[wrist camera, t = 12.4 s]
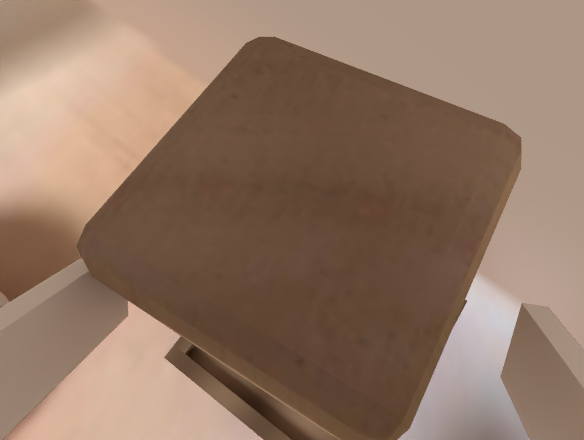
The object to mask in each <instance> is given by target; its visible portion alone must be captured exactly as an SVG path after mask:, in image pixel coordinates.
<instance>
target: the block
mask: <svg viewBox="0 0 584 440" xmlns="http://www.w3.org/2000/svg"><path fill="white" fill-rule="evenodd" d="M520 170H521V137H520V136H518V135H517V134H516V133H515V132H513V131H512V130H511V129H510V128H509V127H508V126H506V125H505V124H503V123H500V122H498V121H495V120H492V119H489V118H487V117H484V116H482V115H479V114H476V113H474V112H471V111H469V110H466V109H463V108H461V107H458V106H455V105H453V104H450V103H448V102H445V101H442V100H440V99H437V98H434V97H432V96H429V95H426V94H424V93H421V92H418V91H416V90H413V89H411V88H408V87H405V86H403V85H400V84H397V83H395V82H392V81H390V80H387V79H384V78H382V77H379V76H376V75H373V74H371V73H368V72H365V71H363V70H361V69H358V68H355V67H352V66H350V65H347V64H344V63H342V62H339V61H337V60H334V59H332V58H329V57H326V56H324V55H321V54H318V53H316V52H313V51H310V50H308V49H305V48H303V47H300V46H297V45H295V44H292V43H289V42H287V41H284V40H281V39H279V38H276V37H258V38H256V39H254V40H252V41H250V42H248V43H246V44H245V45H244V46H243V47H242V49H241V50H240V51H239V52H238V53H237V54H236V55H235V57H234V58H233V59H232V60H231V61H230V62H229V63H228V65H227V66H226V67H225V68H224V69H223V70H222V71H221V72H220V74H219V75H218V76H217V77H216V78H215V79H214V80H213V81H212V83H211V84H210V85H209V86H208V87H207V88H206V89H205V90H204V92H203V93H202V94H201V95H200V96H199V97H198V98H197V100H196V101H195V102H194V103H193V104H192V105H191V106H190V107H189V109H188V110H187V111H186V112H185V113H184V114H183V115H182V117H181V118H180V119H179V120H178V121H177V122H176V123H175V124H174V126H173V127H172V128H171V129H170V130H169V131H168V132H167V134H166V135H165V136H164V137H163V138H162V139H161V140H160V141H159V143H158V144H157V145H156V146H155V147H154V148H153V149H152V151H151V152H150V153H149V154H148V155H147V156H146V157H145V159H144V160H143V161H142V162H141V163H140V164H139V165H138V166H137V168H136V169H135V170H134V171H133V172H132V173H131V174H130V176H129V177H128V178H127V179H126V180H125V181H124V182H123V183H122V185H121V186H120V187H119V188H118V189H117V190H116V191H115V193H114V194H113V195H112V196H111V197H110V198H109V199H108V200H107V202H106V203H105V204H104V205H103V206H102V207H101V208H100V210H99V211H98V212H97V213H96V214H95V215H94V216H93V217H92V219H91V220H90V221H89V222H88V223H87V224H86V225H85V228H84V230H83V233H82V235H81V237H80V240H79V242H78V244H77V248H78V250H79V253H80V255H81V257H82V259H83V261H84V263H85V264H86V266H87V268H88V270H89V272H90V274H91V276H92V277H94V278H95V279H97V280H98V281H100V282H101V283H103V284H104V285H106V286H107V287H109V288H110V289H112V290H113V291H115V292H116V293H118V294H119V295H121V296H122V297H124V298H125V299H127V300H128V301H130V302H131V303H133V304H134V305H136V306H137V307H139V308H140V309H142V310H143V311H145V312H146V313H148V314H149V315H151V316H152V317H154V318H155V319H157V320H158V321H160V322H161V323H163V324H164V325H166V326H167V327H169V328H170V329H172V330H173V331H174V332H176V333H177V334H179V335H180V336H182V337H183V338H185V339H186V340H188V341H189V342H191V343H192V344H194V345H195V346H197V347H198V348H200V349H201V350H203V351H204V352H206V353H207V354H209V355H210V356H212V357H213V358H215V359H216V360H218V361H219V362H221V363H222V364H224V365H225V366H227V367H228V368H230V369H231V370H233V371H234V372H236V373H237V374H239V375H240V376H242V377H243V378H245V379H247V380H248V381H250V382H251V383H253V384H254V385H256V386H257V387H259V388H260V389H262V390H263V391H265V392H266V393H268V394H269V395H271V396H272V397H274V398H275V399H277V400H278V401H280V402H282V403H283V404H285V405H286V406H288V407H289V408H291V409H292V410H294V411H295V412H297V413H298V414H300V415H301V416H303V417H304V418H306V419H307V420H309V421H310V422H312V423H313V424H315V425H316V426H318V427H320V428H321V429H323V430H324V431H326V432H327V433H329V434H330V435H332V436H334V437H336V438H338V439H339V440H397V439H398V438H399V437H400V436H401V435H403V434H404V433H405V432H406V431H407V430H408V429H409V428H410V426H411V424H412V421H413V419H414V417H415V414H416V412H417V410H418V407H419V405H420V403H421V400H422V398H423V396H424V393H425V391H426V389H427V386H428V384H429V382H430V379H431V377H432V375H433V372H434V370H435V368H436V365H437V363H438V361H439V358H440V356H441V354H442V351H443V349H444V347H445V344H446V342H447V340H448V337H449V335H450V333H451V330H452V328H453V326H454V323H455V321H456V319H457V316H458V314H459V312H460V309H461V307H462V305H463V303H464V300H465V298H466V296H467V293H468V291H469V289H470V286H471V284H472V282H473V279H474V277H475V275H476V272H477V270H478V268H479V265H480V263H481V261H482V258H483V256H484V254H485V251H486V249H487V246H488V244H489V242H490V240H491V237H492V235H493V233H494V230H495V228H496V226H497V223H498V221H499V218H500V216H501V214H502V212H503V209H504V207H505V205H506V202H507V200H508V198H509V195H510V193H511V190H512V188H513V186H514V184H515V181H516V179H517V177H518V174H519V172H520Z"/></svg>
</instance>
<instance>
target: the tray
mask: <svg viewBox="0 0 584 440" xmlns="http://www.w3.org/2000/svg"><path fill="white" fill-rule="evenodd" d="M466 302H467V300H464V303H463V305H462V307H461V309H460V312H459V314H458V316H457V319H458V317H459V315H460V314H461V312H462V310H463V308H464V306H465V304H466ZM457 319H456V321H457ZM456 321H455V323H456ZM455 323H454V325H455ZM453 327H454V326H453ZM452 329H453V328H452ZM164 358H165V359H167V360H168V361H169V362H170V363H172V364H173V365H174V366H175V367H176V368H178V369H179V370H180V371H181V372H182V373H184V374H185V375H186V376H187V377H189V378H190V379H191V380H192V381H193V382H195V383H196V384H197V385H198V386H199V387H201V388H202V389H203V390H204V391H206V392H207V393H208V394H209V395H210V396H212V397H213V398H214V399H215V400H216V401H218V402H219V403H220V404H221V405H223V406H224V407H225V408H226V409H227V410H229V411H230V412H231V413H232V414H233V415H235V416H236V417H237V418H238V419H239V420H241V421H242V422H243V423H244V424H246V425H247V426H248V427H249V428H250V429H252V430H253V431H254V432H255V433H256V434H258V435H259V436H260V437H261V438H263V439H264V440H339V439H338V438H336V437H334V436H332V435H330V434H329V433H327V432H326V431H324V430H323V429H321V428H320V427H318V426H316V425H315V424H313V423H312V422H310V421H309V420H307V419H306V418H304V417H303V416H301V415H300V414H298V413H297V412H295V411H294V410H292V409H291V408H289V407H288V406H286V405H285V404H283V403H282V402H280V401H278V400H277V399H275V398H274V397H272V396H271V395H269V394H268V393H266V392H265V391H263V390H262V389H260V388H259V387H257V386H256V385H254V384H253V383H251V382H250V381H248V380H247V379H245V378H243V377H242V376H240V375H239V374H237V373H236V372H234V371H233V370H231V369H230V368H228V367H227V366H225V365H224V364H222V363H221V362H219V361H218V360H216V359H215V358H213V357H212V356H210V355H209V354H207V353H206V352H204V351H203V350H201V349H200V348H198V347H197V346H195V345H194V344H192V343H191V342H189V341H188V340H186V339H185V338H183V337H182V336H181V337H180V338H179V340H178V341H177V342H176V343H175V345H174V346H173V347H172V348H171V350H170V351H169V352H168V353H167V355H166V356H165V357H164Z"/></svg>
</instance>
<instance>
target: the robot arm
mask: <svg viewBox="0 0 584 440" xmlns="http://www.w3.org/2000/svg"><path fill="white" fill-rule="evenodd" d="M127 316H128V301H127V299H125V298H124V297H122V296H121V295H119V294H118V293H116V292H115V291H113V290H112V289H110V288H109V287H107V286H106V285H104V284H103V283H101V282H100V281H98V280H97V279H95V278H94V277H92V276H91V274H90V272H89V270H88V268H87V266H86V264H85V263H84V261H83V259H82V258H80V259H78V260H77V261H75V262H73V263H72V264H70V265H69V266H67V267H65V268H64V269H62V270H60V271H59V272H57V273H56V274H54V275H52V276H51V277H49V278H48V279H46V280H44V281H43V282H41V283H39V284H38V285H36V286H35V287H33V288H31V289H30V290H28V291H26V292H25V293H23V294H22V295H20V296H18V297H17V298H15V299H14V300H12V301H10V302H9V303H7V304H5V305H4V306H0V440H3V439H4V438H5V437H6V436H7V435H8V434H9V433H10V432H11V431H12V430H13V429H14V428H15V427H16V426H17V425H18V424H19V423H20V422H21V421H22V420H23V419H24V418H25V417H26V416H27V415H28V414H29V413H30V412H31V411H32V410H33V409H34V408H35V407H36V406H37V405H38V404H39V403H40V402H41V401H42V400H43V399H44V398H45V397H46V396H47V395H48V394H49V393H50V392H51V391H52V390H53V389H54V388H55V387H56V386H57V385H58V384H59V383H60V382H61V381H62V380H63V379H64V378H65V377H66V376H67V375H68V374H69V373H70V372H71V371H72V370H73V369H74V368H75V367H76V366H78V365H79V364H80V363H81V362H82V361H83V360H84V359H85V358H86V357H87V356H88V355H89V354H90V353H91V352H92V351H93V350H94V349H95V348H96V347H97V346H98V345H99V344H100V343H101V342H102V341H103V340H104V339H105V338H106V337H107V336H108V335H109V334H110V333H111V332H112V331H113V330H114V329H115V328H116V327H117V326H118V325H119V324H120V323H121V322H122V321H123V320H124V319H125V318H126V317H127ZM501 379H502V381H503V383H504V385H505V387H506V389H507V391H508V394H509V396H510V398H511V400H512V402H513V404H514V406H515V409H516V411H517V413H518V415H519V417H520V419H521V421H522V423H523V426H524V428H525V430H526V432H527V434H528V436H529V438H530V440H584V349H583V348H582V347H581V345H580V344H579V343H578V342H577V341H576V339H575V338H574V337H573V336H572V335H571V333H570V332H569V331H568V330H567V329H566V327H565V326H564V325H563V324H562V323H561V321H560V320H559V319H558V318H557V317H556V315H555V314H554V313H553V312H552V311H551V309H550V308H549V307H545V306H538V305H531V304H525V303H522V305H521V308H520V312H519V315H518V319H517V322H516V326H515V329H514V332H513V336H512V339H511V343H510V346H509V349H508V353H507V356H506V360H505V363H504V367H503V370H502V373H501Z"/></svg>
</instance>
